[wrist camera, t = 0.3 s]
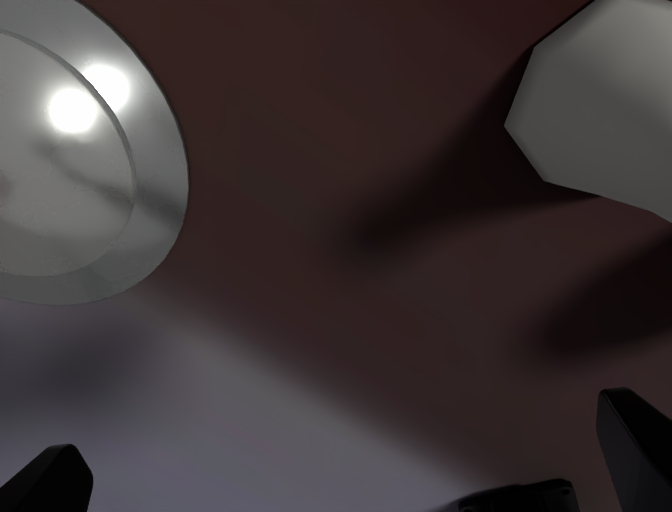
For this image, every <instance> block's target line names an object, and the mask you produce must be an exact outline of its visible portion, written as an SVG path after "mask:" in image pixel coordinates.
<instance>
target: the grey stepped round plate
mask: <svg viewBox="0 0 672 512" xmlns="http://www.w3.org/2000/svg"><path fill="white" fill-rule="evenodd" d="M189 193H190V167H189V158H188V153H187V148H186V143H185V138H184V135H183V132H182V129H181V126H180V123H179V120H178V117H177V115H176V113H175V111H174V109H173V106H172V104H171V102H170V100H169V98H168V96H167V94H166V92H165V90H164V89H163V87H162V85H161V84H160V82H159V81H158V79H157V77H156V76H155V74H154V73H153V71H152V69H151V68H150V67H149V66H148V64H147V63H146V62H145V60H144V59H143V58H142V57H141V55H140V54H139V53H138V52H137V50H136V49H135V48H134V47H133V46H132V45H131V43H130V42H129V41H128V40H127V39H126V38H125V37H124V36H123V35H122V34H121V33H120V32H119V31H118V30H117V29H116V28H115V27H114V26H113V25H112V24H110V23H109V22H108V21H107V20H106V19H104V18H103V17H102V16H101V15H100V14H98V13H97V12H96V11H95V10H94V9H92V8H91V7H90V6H89V5H87V4H86V3H84V2H82V1H81V0H0V297H2V298H6V299H10V300H15V301H20V302H25V303H31V304H42V305H74V304H82V303H89V302H94V301H97V300H101V299H105V298H109V297H111V296H113V295H116V294H118V293H121V292H123V291H125V290H127V289H129V288H130V287H132V286H134V285H136V284H137V283H139V282H140V281H142V280H143V279H144V278H145V277H147V276H148V275H149V274H150V273H152V272H153V271H154V270H155V269H156V267H157V266H158V265H159V264H160V263H161V262H162V261H163V260H164V259H165V257H166V256H167V254H168V252H169V251H170V249H171V248H172V246H173V245H174V243H175V241H176V239H177V237H178V235H179V232H180V230H181V228H182V225H183V223H184V220H185V216H186V212H187V208H188V204H189Z"/></svg>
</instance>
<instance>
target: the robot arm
mask: <svg viewBox="0 0 672 512" xmlns="http://www.w3.org/2000/svg"><path fill="white" fill-rule="evenodd" d="M596 430H597V436H598V440H599V443H600V446H601V449H602V452H603V455H604V458H605V461H606V464H607V467H608V470H609V473H610V476H611V479H612V482H613V485H614V488H615V491H616V494H617V497H618V500H619V503H620V506H621V509H622V512H672V420H671V419H670V418H669V417H667V416H666V415H665V414H663V413H662V412H661V411H659V410H658V409H657V408H655V407H654V406H652V405H651V404H650V403H648V402H647V401H646V400H644V399H643V398H642V397H640V396H639V395H638V394H636V393H635V392H634V391H632V390H631V389H628V388H625V387H621V388H612V389H604V390H602V391H600V393H599V397H598V408H597V420H596ZM92 489H93V475H92V472H91V470H90V468H89V467H88V465H87V464H86V462H85V460H84V459H83V457H82V455H81V454H80V452H79V450H78V449H77V447H76V446H74V445H72V444H63V445H53V446H50V447H48V448H46V449H45V450H44V451H43V452H41V453H40V454H39V455H38V456H37V457H36V458H34V459H33V460H32V461H31V462H30V463H29V464H27V465H26V466H25V467H24V468H23V469H22V470H20V471H19V472H18V473H17V474H16V475H15V476H13V477H12V478H11V479H10V480H9V481H8V482H6V483H5V484H4V485H3V486H2V487H1V488H0V512H87V510H88V505H89V501H90V497H91V493H92ZM458 507H459V512H580V510H579V506H578V502H577V499H576V495H575V491H574V488H573V486H572V483H571V482H569V481H566V480H563V481H557V482H552V483H548V484H543V485H538V486H533V487H528V488H523V489H519V490H514V491H509V492H504V493H499V494H494V495H489V496H485V497H480V498H475V499H470V500H465V501H462V502H461V503H459V505H458Z"/></svg>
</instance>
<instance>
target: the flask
mask: <svg viewBox="0 0 672 512" xmlns="http://www.w3.org/2000/svg"><path fill="white" fill-rule="evenodd" d="M504 127H505V128H506V130H507V131H508V132H509V134H510V135H511V137H512V138H513V139H514V141H515V142H516V144H517V145H518V146H519V148H520V149H521V150H522V152H523V153H524V155H525V156H526V157H527V159H528V160H529V161H530V163H531V164H532V166H533V167H534V168H535V170H536V171H537V173H538V174H539V175H540V177H541V178H542V179H543V181H546V182H550V183H553V184H556V185H560V186H564V187H568V188H573V189H577V190H581V191H585V192H589V193H593V194H597V195H600V196H603V197H607V198H610V199H613V200H616V201H620V202H623V203H626V204H629V205H633V206H636V207H639V208H642V209H646V210H649V211H652V212H653V213H655V214H657V215H659V216H660V217H662V218H664V219H666V220H668V221H669V222H671V223H672V2H671V1H667V0H595V1H594V2H592V3H591V4H590V5H588V6H587V7H586V8H585V9H583V10H582V11H581V12H579V13H578V14H577V15H575V16H574V17H573V18H571V19H570V20H569V21H568V22H566V23H565V24H564V25H562V26H561V27H560V28H558V29H557V30H556V31H555V32H553V33H552V34H551V35H549V36H548V37H547V38H545V39H544V40H543V41H542V42H540V43H539V44H538V45H536V46H535V47H534V50H533V52H532V55H531V58H530V60H529V63H528V65H527V68H526V70H525V73H524V75H523V78H522V81H521V83H520V86H519V88H518V91H517V93H516V96H515V98H514V101H513V104H512V106H511V109H510V111H509V114H508V116H507V119H506V121H505V124H504Z"/></svg>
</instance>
